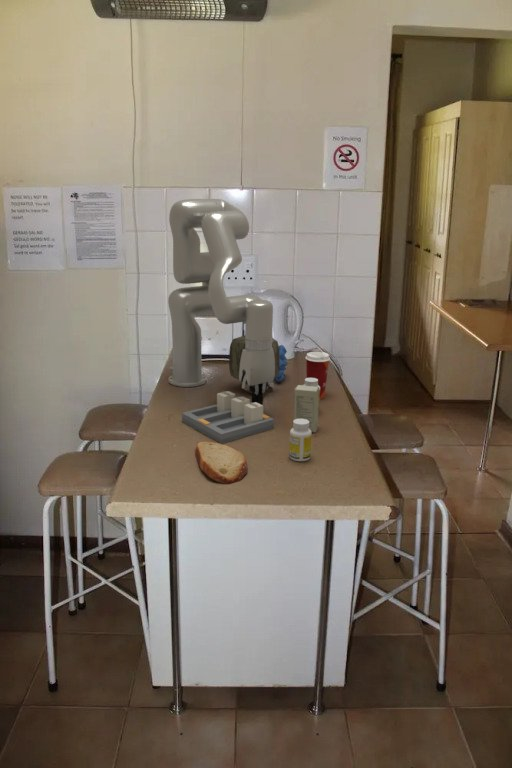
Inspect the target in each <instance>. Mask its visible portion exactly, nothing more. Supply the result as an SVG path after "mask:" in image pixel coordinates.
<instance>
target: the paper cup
mask: <svg viewBox="0 0 512 768" xmlns="http://www.w3.org/2000/svg"><path fill="white" fill-rule="evenodd" d="M305 360H306V364H305V365H306V378H316V379H318V385H319V386H320V400H322V399H325V395H326V389H327V388H326V387H327V381H328V379H327V378H328V371H329V361H331V358H330V355H329V353H327V352H324V351H310V352H307V353H306V356H305Z"/></svg>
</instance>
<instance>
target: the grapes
mask: <svg viewBox="0 0 512 768" xmlns="http://www.w3.org/2000/svg"><path fill="white" fill-rule="evenodd" d="M287 352H288V351H287V349H286V347H285V346H284V345H283V344H281V345H279V353H280V363H279V371H278V375H277V377H276V378H275V379H274V380H276V382H277V383H280V382H282V381H283V380H284V379H285V377H286V375H285V373H284V372H285V370H287V365H288V362H287V357H286V354H287Z"/></svg>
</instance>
